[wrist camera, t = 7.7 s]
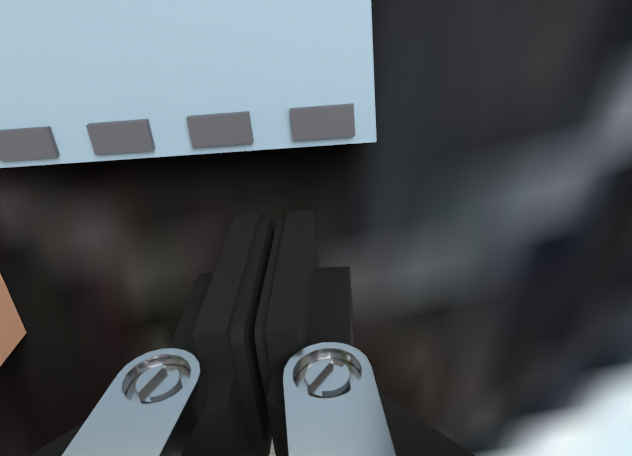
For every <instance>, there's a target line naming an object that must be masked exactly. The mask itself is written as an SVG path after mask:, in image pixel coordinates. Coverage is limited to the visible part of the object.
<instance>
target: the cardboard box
mask: <svg viewBox="0 0 632 456" xmlns="http://www.w3.org/2000/svg"><path fill="white" fill-rule="evenodd" d="M25 334H26V330H25V328H24V326H23V323H22V321H21V319H20V317H19V314H18V312H17V310H16V308H15V305H14V303H13V301H12V298H11V296H10V294H9V292H8V289H7V287H6V285H5V282H4V280H3V278H2V276H1V273H0V366H1V365H2V363H3V362H4V361H5V360H6V358H7V357H8V356H9V354H10V353H11V352H12V351H13V349H14V348H15V347H16V345H17V344H18V343H19V342H20V340H21V339H22V338H23V337H24V335H25Z"/></svg>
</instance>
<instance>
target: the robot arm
mask: <svg viewBox="0 0 632 456" xmlns="http://www.w3.org/2000/svg"><path fill="white" fill-rule="evenodd" d="M272 438H273V444H274V449H275V454H276V456H475V455H473V454H472V453H470V452H469V451H467V450H466V449H464V448H463V447H461V446H460V445H458V444H457V443H455V442H454V441H452V440H451V439H449V438H448V437H446V436H445V435H443V434H442V433H441V432H439V431H438V430H436V429H435V428H433V427H432V426H430V425H429V424H427V423H426V422H424V421H423V420H421V419H420V418H418V417H417V416H415V415H414V414H412V413H411V412H409V411H408V410H407V409H405V408H404V407H402V406H401V405H399V404H398V403H396V402H395V401H393V400H392V399H390V398H389V397H387V396H386V395H384V394H383V393H381V392H380V391H378V389H377V386H376V382H375V378H374V375H373V371H372V368H371V365H370V363H369V361H368V359H367V357H366V356H365V355H364V354H363V353H362V352H361V351H359V350H358V349H356V348H354V329H353V308H352V292H351V278H350V267H328V268H319V263H318V254H317V244H316V234H315V224H314V215H313V211H312V210H305V211H288V212H287V214H286V218H279V219H278V220H277V224H276V229H275V234H274V231H273V224H272V220H271V219H263V216H262V214H261V213H253V214H236V215H235V217H234V219H233V222H232V225H231V228H230V230H229V233H228V236H227V239H226V241H225V244H224V247H223V250H222V252H221V255H220V258H219V261H218V263H217V266H216V269H215V272H214V273H208V274H200V275H199V276H198V278H197V280H196V282H195V285H194V287H193V290H192V292H191V295H190V297H189V300H188V302H187V305H186V307H185V310H184V312H183V315H182V317H181V319H180V322H179V324H178V327H177V329H176V332H175V334H174V337H173V339H172V342H171V344H170V347H169V348H168V349H159V350H155V351H151V352H148V353H146V354H144V355H141V356H139V357H137V358H136V359H134V360H133V361H131V362H130V363H129V364H127V365H126V366H125V367H124V368H123V369H122V370H121V371H120V372H119V374H118V375H117V376H116V378H115V379H114V381H113V382H112V383H111V385H110V386H109V388H108V389H107V391H106V392H105V394H104V395H103V396H102V398H101V399H100V401H99V402H98V404H97V405H96V407H95V408H94V410H93V411H92V412H91V414H90V415H89V417H88V418H87V420H86V421H85V422H84V423H82V424H81V425H79V426H77V427H76V428H74V429H72V430H71V431H69V432H67V433H66V434H64V435H62V436H61V437H59V438H57V439H56V440H54V441H52V442H51V443H49V444H47V445H46V446H44V447H42V448H41V449H39V450H37V451H36V452H34V453H32V454H31V455H29V456H269V454H270V447H271V440H272Z"/></svg>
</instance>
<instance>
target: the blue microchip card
mask: <svg viewBox="0 0 632 456" xmlns="http://www.w3.org/2000/svg"><path fill="white" fill-rule="evenodd" d="M369 142H376V118H375V93H374V67H373V41H372V16H371V0H0V168H8V167H22V166H37V165H51V164H65V163H80V162H94V161H109V160H123V159H138V158H152V157H167V156H181V155H195V154H210V153H224V152H239V151H253V150H268V149H282V148H297V147H311V146H326V145H340V144H354V143H369Z"/></svg>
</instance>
